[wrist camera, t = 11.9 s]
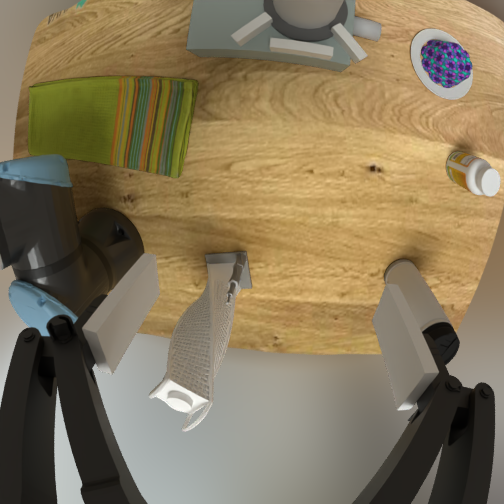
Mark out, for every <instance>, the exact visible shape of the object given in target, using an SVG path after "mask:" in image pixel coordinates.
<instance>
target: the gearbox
mask: <svg viewBox="0 0 504 504" xmlns="http://www.w3.org/2000/svg"><path fill="white" fill-rule="evenodd" d="M354 15H355V0H344V1H343V3H342V5H341V7H340V9H339V11H338V13H337V15H336V17H335V19H334V20H333V21H332V22H330V23H329V24H328V25H326V26H323V27H321V28H315V29H304V28H298V27H296V26H293V25H290V24H288V23H287V22H286V21H284V20H283V19H281V17H280V16H279V15H278V14H277V12H276V10H275V7H274V4H273V0H194V2H193V8H192V14H191V20H190V26H189V33H188V40H187V47H186V50H188V51H190V52H192V53H193V54H195V55H197V56H199V57H226V58H246V59H259V60H270V61H279V62H287V63H294V64H301V65H307V66H313V67H318V68H324V69H329V70H334V71H338V72H342V71H343V70H344V69H346V68H347V67H348V66H350V59H352V60H353V62H354V63H355V64H356V63H357V62H359V61H361V60H363V59H364V58H366V57H367V56H368V55H367V54H366V53H365V52H364V50H363V49H362V48H361V47H360V45H359V44H358V43H357V42H356V41H355V39H354V38H353V35H355V36H358V37H362V38H366V39H370V40H373V41H376V42H377V41H378V40H379V38H380V35H381V24H380V23H378V22H375V21H371V20H368V19H364V18H360V17H357V16H354Z"/></svg>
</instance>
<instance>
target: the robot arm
mask: <svg viewBox="0 0 504 504" xmlns="http://www.w3.org/2000/svg"><path fill="white" fill-rule="evenodd" d="M72 187H73V185H72V183H71V181H70V176H69V170H68V164H67V161H66V159H65V158H64V157H63V156H61V155H58V154H50V155H41V156H33V157H27V158H20V159H15V160H10V161H4V162H1V163H0V270H3V269H4V268H6V267H8V266H10V265H12V268H13V271H14V274H15V277H16V280H14V281H13V282H12V283H11V286H10V287H9V299H10V301H11V304H12V306H13V308H14V309H15V311H16V312H17V314H18V315H19V317H20V318H21V319H22V320H23V321H24V322H25V323H26V325H27V326H28V327H30V328H26V329H24V330H23V331H22V332H21V333H20V334H19V336H18V339H17V342H16V345H15V349H14V352H13V355H12V359H11V362H10V366H9V370H8V374H7V378H6V382H5V387H4V392H3V397H2V402H1V407H0V504H57V494H56V482H55V463H54V428H55V407H56V394H57V386H58V391H59V398H60V403H61V408H62V413H63V417H64V422H65V426H66V430H67V435H68V438H69V442H70V446H71V449H72V453H73V456H74V459H75V463H76V466H77V469H78V472H79V475H80V478H81V480H82V488H81V495H82V498H83V501H84V503H85V504H147V502H146V501H145V500H144V498H143V497H142V495H141V493H140V492H139V490H138V488H137V486H136V484H135V482H134V480H133V478H132V476H131V473H130V472H129V469H128V467H127V465H126V463H125V461H124V458H123V456H122V453H121V451H120V449H119V446H118V444H117V441H116V439H115V436H114V433H113V431H112V428H111V425H110V423H109V420H108V417H107V414H106V411H105V408H104V405H103V402H102V399H101V395H100V392H99V389H98V386H97V382H96V378H95V375H94V371H93V369H92V368H93V366H94V364H95V363H96V364H97V367H98V369H99V371H102V372H105V373H108V374H111V375H113V373H114V371H115V370H116V368H117V366H118V364H119V362H120V361H121V359H122V357H123V355H124V354H125V352H126V350H127V348H128V347H129V345H130V343H131V341H132V340H133V338H134V336H135V335H136V333H137V331H138V329H139V328H140V326H141V324H142V323H143V321H144V319H145V318H146V316H147V314H148V313H149V311H150V309H151V308H152V306H153V304H154V303H155V301H156V300H157V298H158V296H159V295H160V291H159V282H158V273H157V262H156V255H154V254H147V253H144V249H143V244H142V240H141V238H140V236H139V233H138V232H137V230H136V228H135V227H134V226H133V224H132V223H131V222H130V221H129V220H128V219H127V218H126V217H125V216H124V215H122V214H121V213H119V212H117V211H115V210H113V209H109V208H97V209H94V210H92V211H90V212H89V213H87V214H86V215H84V216H83V217H82V218H81V219H80V220H79V222H77V217H76V211H75V205H74V199H73V192H72ZM112 289H113V290H112ZM110 290H112V291H111V292H110V293H109V295H107V293H108V292H109V291H110ZM372 322H373V325H374V328H375V331H376V335H377V338H378V341H379V344H380V348H381V351H382V355H383V358H384V362H385V365H386V369H387V372H388V376H389V380H390V383H391V387H392V391H393V395H394V399H395V403H396V408H397V410H408V409H411V408H412V407H413V406H414V404H415V403H416V402H417V405H418V409H417V410H416V412H415V413H414V414H413V415H412V416H411V417H410V418H409V420H408V421H410V422H409V424H408V426H407V427H406V429H405V431H404V432H403V434H402V436H401V437H400V439H399V441H398V442H397V444H396V445H395V447H394V448H393V450H392V451H391V453H390V455H389V456H388V457H387V459H386V460H385V462H384V463H383V465H382V466H381V467H380V469H379V470H378V472H377V473H376V474H375V476H374V477H373V478H372V480H371V481H370V482H369V484H368V485H367V486H366V487H365V489H364V490H363V491H362V492H361V494H360V495H359V496H358V497H357V498H356V500H355V501H354V502H353V503H352V504H411V502H412V501H413V499H414V497H415V496H416V494H417V493H418V491H419V489H420V487H421V485H422V484H423V482H424V480H425V479H426V477H427V475H428V473H429V471H430V469H431V467H432V465H433V463H434V461H435V459H436V457H437V455H438V453H439V451H440V449H441V447H442V444H443V447H442V453H441V457H440V462H439V466H438V470H437V474H436V478H435V482H434V485H433V489H432V493H431V496H430V499H429V502H428V504H487V499H488V493H489V488H490V481H491V474H492V464H493V455H494V439H495V398H494V397H495V396H494V392H493V390H492V388H491V387H490V386H489V385H488V384H486V383H482V382H481V383H478V384H477V385H476V387H475V388H474V389H471V388H466V387H463V386H462V384H461V382H460V381H459V380H458V379H457V378H456V377H454V376H451V375H449V373H448V371H447V368H446V366H445V364H444V361H443V359H442V357H441V355H440V352H439V350H438V349H437V346H436V344H435V342H434V340H433V339H432V338H431V337H430V336H429V335H428V334H422V332H421V330H420V328H419V326H418V323H417V321H416V319H415V317H414V315H413V313H412V311H411V309H410V307H409V305H408V303H407V301H406V299H405V297H404V295H403V293H402V292H401V290H400V288H399V286H398V285H396V284H387V283H386V286H385V289H384V291H383V294H382V297H381V299H380V302H379V305H378V307H377V310H376V312H375V315H374V317H373V319H372Z"/></svg>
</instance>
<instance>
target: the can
mask: <svg viewBox="0 0 504 504" xmlns="http://www.w3.org/2000/svg"><path fill="white" fill-rule="evenodd" d="M343 1H344V0H273V4H274V7H275V10H276V12H277V14H278V15H279V16H280V17H281V19H283V20H284V21H286V22H287V23H288V24H290V25H293V26H296V27H298V28H304V29H315V28H321V27H323V26H326V25H328V24H329V23H330V22H332V21H333V20H334V19H335V17H336V15H337V13H338V11H339V9H340V7H341V5H342V3H343Z"/></svg>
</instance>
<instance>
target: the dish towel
mask: <svg viewBox="0 0 504 504" xmlns="http://www.w3.org/2000/svg"><path fill="white" fill-rule="evenodd" d="M29 91H30V97H29V125H28V151H29V154H30V155H34V156H41V155H50V154H58V155H61V156H63V157H64V158H65V159H76V160H82V161H89V162H96V163H102V164H108V165H114V166H119V167H124V168H129V169H135V170H140V171H145V172H150V173H155V174H161V175H165V176H169V177H172V178H179V177H180V176H181V173H182V170H183V164H184V159H185V156H186V152H187V145H188V138H189V133H190V127H191V122H192V118H193V113H194V106H195V101H196V97H197V92H198V81H196V80H189V79H181V78H168V77H148V76H107V77H88V78H73V79H65V80H58V81H52V82H45V83H39V84H34V85H33V86H30V87H29Z"/></svg>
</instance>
